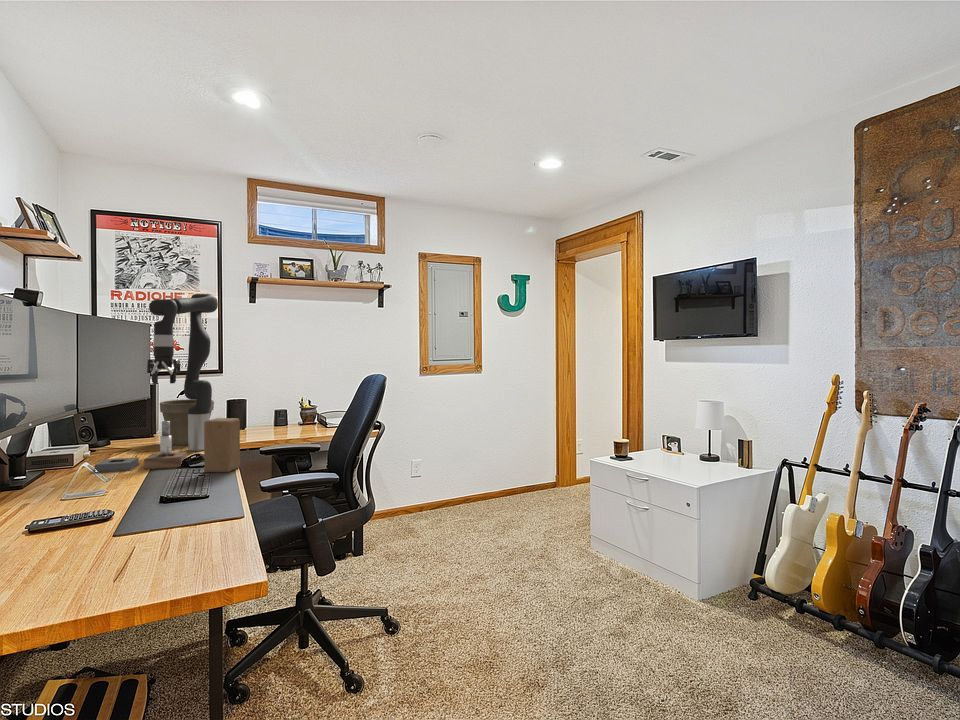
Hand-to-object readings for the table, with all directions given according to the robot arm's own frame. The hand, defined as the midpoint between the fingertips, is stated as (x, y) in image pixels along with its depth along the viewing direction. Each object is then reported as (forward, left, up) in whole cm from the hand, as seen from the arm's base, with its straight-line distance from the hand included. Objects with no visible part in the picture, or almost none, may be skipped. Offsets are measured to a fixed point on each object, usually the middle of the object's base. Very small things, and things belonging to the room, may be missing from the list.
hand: (163, 383), depth 233 cm
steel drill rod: (+12, +3, -33) cm, 35 cm away
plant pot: (-49, +1, -33) cm, 59 cm away
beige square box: (+12, +3, -33) cm, 35 cm away
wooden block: (+31, +26, -33) cm, 52 cm away
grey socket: (+13, -14, -33) cm, 38 cm away
